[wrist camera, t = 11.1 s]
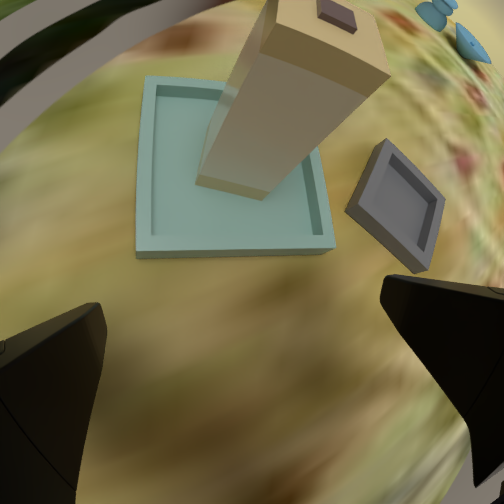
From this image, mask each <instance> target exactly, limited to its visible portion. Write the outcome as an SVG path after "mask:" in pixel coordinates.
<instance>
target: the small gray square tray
mask: <svg viewBox="0 0 504 504" xmlns="http://www.w3.org/2000/svg"><path fill="white" fill-rule="evenodd" d="M444 204H445V198H444V197H443V195H442V194H441V193H440V192H439V191H438V190H437V189H436V188H435V186H434V185H433V184H432V183H431V182H430V181H429V180H428V179H427V178H426V177H425V176H424V175H423V174H422V173H421V171H420V170H419V169H418V168H417V167H416V166H415V165H414V164H413V163H412V162H411V161H410V160H409V159H408V158H407V157H406V156H405V155H404V154H403V153H402V152H401V151H400V150H399V149H398V148H397V147H396V146H395V145H394V144H393V143H391V142H390V141H389V140H388V139H387V138H386V139H384V140H383V141H382V142H380V143H379V144H378V145H376V146H375V148H374V150H373V152H372V155H371V157H370V159H369V161H368V163H367V165H366V168H365V170H364V172H363V174H362V176H361V178H360V181H359V183H358V185H357V187H356V189H355V191H354V193H353V195H352V197H351V199H350V201H349V204H348V206H347V208H346V210H345V212H346V213H347V214H348V215H349V216H351V217H352V218H353V219H354V220H355V221H356V222H358V223H359V224H360V225H361V226H362V227H363V228H364V229H366V230H367V231H368V232H369V233H370V234H371V235H372V236H373V237H375V238H376V239H377V240H378V241H379V242H380V243H381V244H382V245H383V246H385V247H386V248H387V249H388V250H389V251H390V252H391V253H392V254H393V255H394V256H395V257H397V258H398V259H399V260H400V261H401V262H402V263H403V264H404V265H405V266H406V267H407V268H408V269H409V270H410V271H411V272H412V273H413V274H416V273H420V272H424V271H427V270H428V269H429V266H430V262H431V259H432V255H433V251H434V247H435V243H436V240H437V235H438V231H439V227H440V223H441V218H442V214H443V209H444Z"/></svg>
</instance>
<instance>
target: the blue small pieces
mask: <svg viewBox="0 0 504 504" xmlns="http://www.w3.org/2000/svg"><path fill="white" fill-rule="evenodd" d="M432 2H433V3H431V2H422V3H420V4H419V5H418V6H417V7H416V8H415V10H416V12H417V13H418V14H419V16H420V17H421V18H422V19H423V20H424V21H425V22H426V23H427V24H428V25H430V26H431V27H432V28H433V29H435V30H436V31H439V32H440V31H441V30H443V29H444V28H445V26H446V24H447V18H446V16H450V15H452V13H453V9H457V8H458V5H457V2H456V1H455V0H432ZM452 8H453V9H452ZM456 43H457V51H458V52H459V54H460V55H461V56H462V57H463V58H466V59H471V60H476V61H480V62H485V63H489V64H491V60H490V58H489V56H488V54H487V53H486V51H485V50H484V48H483V47H482V46H481V45H480V43H479V42H478V41H477V40H476V39H475V37H474V36H473V35H472V34H471V33H470V32H469V31H468V30H467V29H466V28H465V27H463V26H462V25H461V24H459V23H456Z"/></svg>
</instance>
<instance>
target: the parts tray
mask: <svg viewBox="0 0 504 504" xmlns="http://www.w3.org/2000/svg"><path fill="white" fill-rule="evenodd" d="M226 83H227V82H221V81H212V80H203V79H192V78H180V77H164V76H145V83H144V92H143V100H142V110H141V121H140V133H139V146H138V163H137V185H136V259H146V258H193V257H237V256H279V255H319V254H323V253H326V252H328V251H330V250H333V249H335V248H336V243H335V237H334V230H333V224H332V218H331V212H330V206H329V201H328V195H327V190H326V184H325V179H324V174H323V169H322V164H321V159H320V154H319V149H318V146H317V147H316V148H315V149H314V150H313V151H312V152H311V153H310V154H309V155H308V156H307V157H306V158H305V159H303V160H302V161H301V162H300V163H299V164H298V165H297V166H296V167H295V168H294V169H293V170H292V171H291V172H290V173H289V174H288V175H287V176H286V177H285V178H284V179H283V180H282V181H281V182H280V183H279V184H278V185H277V186H276V187H275V188H274V189H273V190H272V191H271V192H270V193H269V194H268V195H267V196H266V197H265V198H264V199H263V200H262V201H259V200H255V199H251V198H247V197H243V196H239V195H235V194H231V193H227V192H223V191H219V190H215V189H210V188H206V187H202V186H198V185H195V180H196V175H197V170H198V166H199V161H200V157H201V152H202V148H203V143H204V139H205V134H206V130H207V127H208V125H209V122H210V120H211V117H212V115H213V113H214V110H215V108H216V106H217V103H218V101H219V99H220V96H221V94H222V92H223V90H224V87H225V85H226Z"/></svg>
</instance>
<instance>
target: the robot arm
mask: <svg viewBox="0 0 504 504" xmlns="http://www.w3.org/2000/svg"><path fill="white" fill-rule="evenodd" d="M380 303H381V305H382V307H383V309H384V310H385V312H386V313H387V315H388V317H389V318H390V320H391V321H392V323H393V324H394V326H395V328H396V329H397V331H398V332H399V334H400V335H401V336H402V338H403V339H404V340H405V341H406V343H407V344H408V345H409V346H410V348H411V349H412V350H413V352H414V353H415V354H416V356H417V357H418V358H419V359H420V361H421V362H422V363H423V365H424V366H425V367H426V369H427V370H428V371H429V373H430V374H431V375H432V377H433V378H434V379H435V381H436V382H437V383H438V385H439V386H440V387H441V389H442V390H443V391H444V393H445V394H446V396H447V397H448V398H449V400H450V401H451V402H452V404H453V405H454V407H455V408H456V409H457V411H458V412H459V414H460V415H461V416H462V418H463V419H464V421H465V422H466V424H467V426H468V429H469V433H470V441H471V451H472V463H473V482H474V486H475V488H477V487H478V486H480V485H481V484H482V483H484V482H485V481H487V480H488V479H490V478H491V477H492V476H494V475H495V474H496V473H498V472H499V471H500V470H502V469H503V468H504V288H496V287H485V286H478V285H471V284H463V283H456V282H449V281H441V280H434V279H427V278H419V277H412V276H405V275H397V274H394V275H387V276H386V277H385V278H384V280H383V285H382V289H381V294H380ZM106 339H107V325H106V321H105V318H104V314H103V311H102V307H101V305H100V303H98V302H95V303H86V304H84V305H81V306H79V307H77V308H75V309H72V310H70V311H68V312H66V313H63V314H61V315H59V316H57V317H54V318H52V319H50V320H48V321H45V322H43V323H41V324H39V325H36V326H34V327H32V328H30V329H28V330H25V331H23V332H21V333H19V334H17V335H14V336H12V337H10V338H8V339H6V340H5V341H4V340H2V341H0V504H75V499H76V492H75V491H76V490H77V483H78V477H79V471H80V466H81V460H82V455H83V449H84V444H85V440H86V435H87V430H88V425H89V421H90V416H91V412H92V408H93V404H94V400H95V396H96V392H97V388H98V384H99V380H100V376H101V372H102V367H103V360H104V353H105V346H106ZM491 504H504V481H503V482H502V483H501V490H500V496H499V498H497V499H496V500H495V501H494V502H492V503H491Z"/></svg>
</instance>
